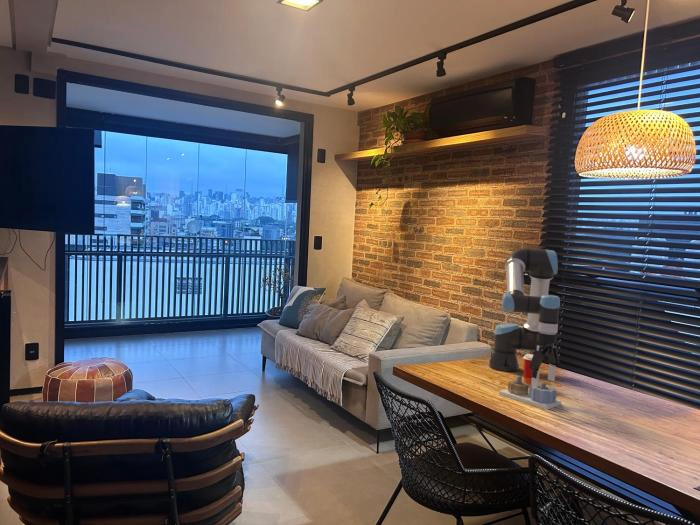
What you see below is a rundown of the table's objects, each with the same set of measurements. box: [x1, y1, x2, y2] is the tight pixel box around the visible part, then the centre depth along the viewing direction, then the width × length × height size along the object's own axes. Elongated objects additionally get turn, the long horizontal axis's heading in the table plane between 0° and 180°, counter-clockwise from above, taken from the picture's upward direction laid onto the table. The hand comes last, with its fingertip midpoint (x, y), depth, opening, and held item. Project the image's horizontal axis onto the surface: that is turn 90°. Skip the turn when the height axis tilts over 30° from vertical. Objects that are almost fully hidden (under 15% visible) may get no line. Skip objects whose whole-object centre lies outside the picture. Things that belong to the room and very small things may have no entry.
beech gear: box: [507, 380, 529, 395], centre depth 221 cm, size 8×8×4 cm
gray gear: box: [528, 384, 558, 404], centre depth 213 cm, size 10×10×5 cm
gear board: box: [498, 375, 562, 411], centre depth 217 cm, size 12×22×8 cm, turn 41°
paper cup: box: [522, 353, 533, 387], centre depth 238 cm, size 8×8×14 cm
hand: (543, 382), depth 213 cm, fingers open, 13 cm apart
